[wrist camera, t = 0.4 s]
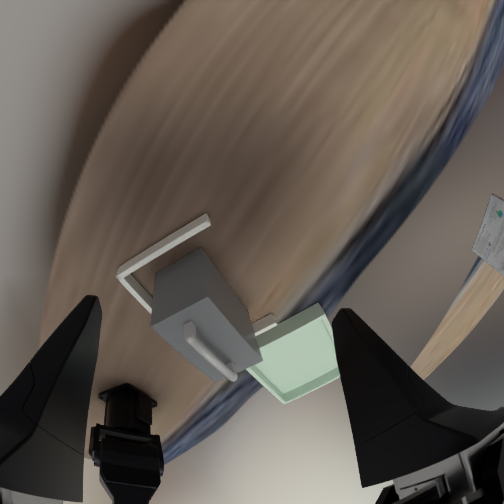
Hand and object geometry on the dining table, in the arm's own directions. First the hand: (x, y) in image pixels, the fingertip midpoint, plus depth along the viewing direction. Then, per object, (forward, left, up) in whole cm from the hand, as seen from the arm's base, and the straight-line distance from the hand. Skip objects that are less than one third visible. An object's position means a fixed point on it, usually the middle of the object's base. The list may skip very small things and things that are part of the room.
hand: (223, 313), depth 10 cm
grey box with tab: (-5, -9, -15) cm, 18 cm away
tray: (-1, -25, -15) cm, 29 cm away
